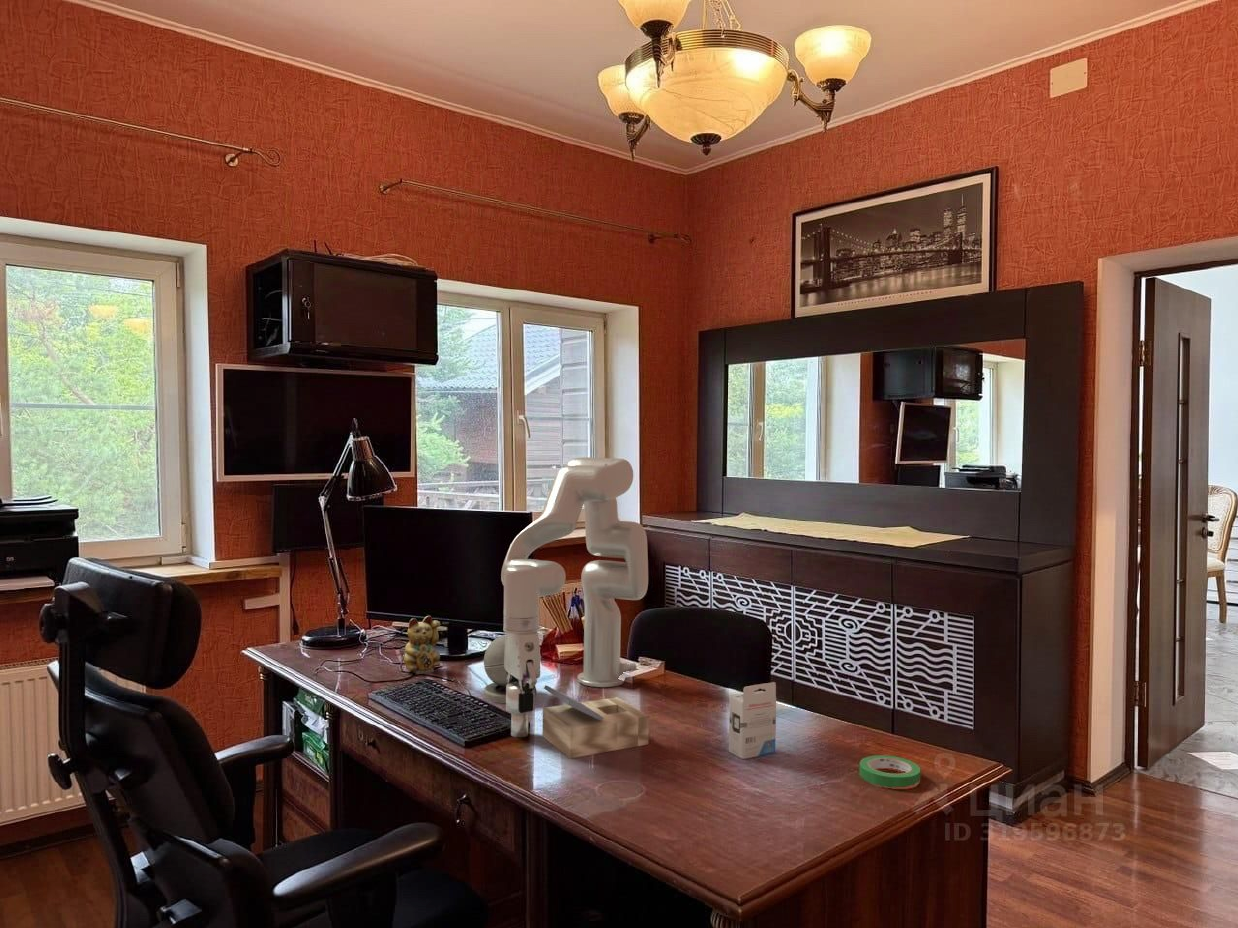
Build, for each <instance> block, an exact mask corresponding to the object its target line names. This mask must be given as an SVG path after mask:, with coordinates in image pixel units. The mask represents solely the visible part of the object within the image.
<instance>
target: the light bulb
mask: <svg viewBox="0 0 1238 928" xmlns="http://www.w3.org/2000/svg"><path fill="white" fill-rule="evenodd" d="M526 683H528V681H527V682H524V686H525V684H526ZM519 693H520V685H519V682H513V683H509V684H507V685H506V703H505V711H506V712H508V713H510V714H511V715H510V717H511V718H510V719H511V721H510V722H511V724H510V736H512V738H513V737H514V738H524V737H527V736H528V735H529V713H531V712H532V711H530V712H523V713H520V712H519V711H518V704H519ZM534 710H535V706H534V707H533V711H534Z"/></svg>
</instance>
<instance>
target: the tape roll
mask: <svg viewBox="0 0 1238 928" xmlns="http://www.w3.org/2000/svg"><path fill="white" fill-rule="evenodd" d="M877 768H893V769H898V770H901V771H905V772H906V773H892V772H891V773H890V772H884V771H881V770H875V769H877ZM860 776H861V777H862V778H863V779H864V780H866V781H868V782H870V783H872V784H876V785H880V786H887V787H906V786H910V785H914V784H915V783H917V782H919V780H920V781H921V768H920V766H919V765H918V764H917V763H915V762H913V761H912V760H909V759H906V758H903V757H898V756H893V755H884V754H883V755H882V754H880V755H879V754H878V755H870V756H866V757H864V758H862V759H861V760H860V762H859V777H860ZM861 777H860V778H861ZM862 778H861V779H862ZM863 779H862V780H863ZM864 780H863V781H864ZM866 781H865V782H866ZM872 784H871V785H872Z"/></svg>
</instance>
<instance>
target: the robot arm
mask: <svg viewBox="0 0 1238 928" xmlns="http://www.w3.org/2000/svg"><path fill="white" fill-rule="evenodd" d="M633 481H634V470H633V467H632V465H631V463H630V462H629V461H627V459H624V458H615V457H613V458H612V457H611V458H610V457H591V456H590V457H586V456H585V457H581V456H580V457H575V458H571V459H569V461H567V463H566V465H565V466H563V467H561V468H560V469H559V470H558V471H557V472H556V474H555V476H554V479H553V481H552V484H551V487H550V490H549V492H548V495H547V498H546V501H545V504H544V506H543V509H542V512H541V514H540V516H539V517H538V518H537V519H536V520H535V519H534V520H533V521H532V522H531V523H530V524H529V525H527V526H526V527H525V528H524V529H523V530H522V531H520V532H519V533H518V534H517V535H516V536H515V537H514V539H513V540H512V542H511V543H510V545H509V548H508V550H507V552H506V555H505V558H504V560H503V564H502V567H501V574H500V576H501V577H500V579H501V580H500V581H501V582H502V583H501V584H502V585H503V629H502V630H503V632H504V633H505V634H504V635H505V646H504V668H505V670H506V674H507V684H509V683H513V682H519V685H520V693H519V704H518V711H519V712H520V713H523V712H528V713H531V712H533V711H534V710H533V707H534V708H535V694H534V688H535V687H536V685H537V683H538V679H540V677H541V652H540V650H541V649H540V638H539V633H538V631H540V597H543V596H545V597H547V596H554V595H556V594H558V593H559V592H560V591H561V590H562V589H563V588H564V586H565V584H566V578H567V577H566V576H567V575H566V571H565V569H564V567H563V566H562V565H561V564H559V562H556V561H551V560H540V559H534V558H533V559H531V558H529V556H530V555H531V554H532V553H533V552H534V551H535V550H537V549H538V548H540V547H542V546H543V545H546V544H548V543H551V542H554V541H557V540H560V539H561V538H564V537H567V536H569V535H570V534H572V533H573V532H574V531H575V530H576V528H577V524H578V522H579V517H580V515H581V511H582V510H583V509H582V508H584V523H585V524H584V526H585V528H584V529H585V544H586V550H587V551H588V552H589V554H591V555H593V556H596V557H597V556H598V557H604V558H616V559H624V560H625V561H615V560H606V559H605V560H602V559H597V560H593V561H592V560H591V561H589V562H588V563H586V564H585V565H584V566H583V568H582V572H581V574H580V575H581V578H580V582H581V587H582V593H583V601H584V602H583V603H584V620H583V621H584V626H583V629H584V632H583V634H584V635H583V671H582V672H580V673H579V674H578V675H577V682H578V683H580V684H581V685H583V686H587V687H588V686H589V687H592V688H593V687H594V688H610V687H617V686H620V685H623V684H622V680H619V679H618V678H619V676H620V675H622V674H624V673H623V672H626V671H627V672H632V671H631V670H636V671H637V664H635V663H629V664H628V663H627V662H624V663H623V662H621V627H622V625H621V624H622V621H621V620H622V615H621V611H620V608H619V606H618V604H617V602H616V601H615V599H618V600H627V601H628V600H630V601H640V600H641V599H643V598H644V597H645V596H646V594H647V591H648V588H649V587H648V586H649V559H648V557H649V556H648V554H649V553H648V536H647V532H646V530H645V527H644V526H643V525H642V524H641V523H639V522H636V521H631V520H630V521H628V520H626V521H625V520H620V519H619V513H618V501H617V497H620V496H622V495H624V494H625V493H627V491H629V490H630V488H631V486H632V484H633ZM627 672H626V673H627ZM526 675H528V678H523V676H526ZM525 681H527V682H528V683H526V684H525V686H524V682H525ZM530 711H531V712H530Z"/></svg>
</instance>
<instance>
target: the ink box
mask: <svg viewBox="0 0 1238 928" xmlns="http://www.w3.org/2000/svg"><path fill="white" fill-rule="evenodd" d="M760 689H761V690H760ZM776 689H777V684H776V682H774V681H772V682H768V683H767V682H766V683H760V684H753V685H749V686H748V685H747V686H744V687H743V693H740V694H732V695H729V719H728V721H729V722H728V723H729V725H728V727H729V728H728V752H729V753H731V754H732V755H734V756H736V757H738V758H739V759H742V760H745V759H750V758H751V759H752V758H754V757H755V758H756V757H760V756H764V755H770V754H774V753H776V732H777V730H776V729H777V728H776V727H777V696H776V695H777V690H776Z"/></svg>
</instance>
